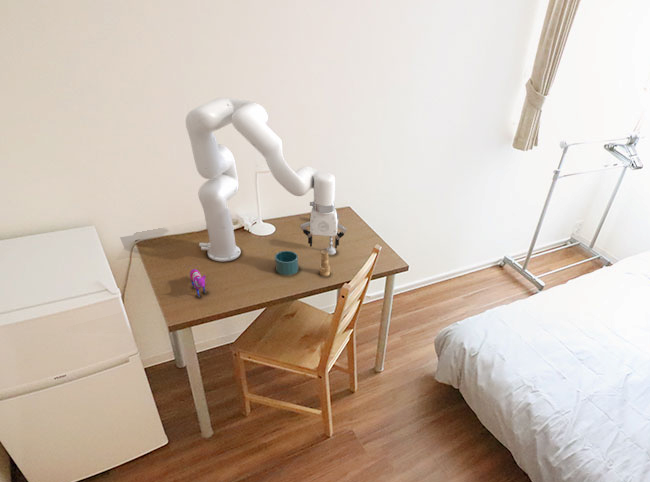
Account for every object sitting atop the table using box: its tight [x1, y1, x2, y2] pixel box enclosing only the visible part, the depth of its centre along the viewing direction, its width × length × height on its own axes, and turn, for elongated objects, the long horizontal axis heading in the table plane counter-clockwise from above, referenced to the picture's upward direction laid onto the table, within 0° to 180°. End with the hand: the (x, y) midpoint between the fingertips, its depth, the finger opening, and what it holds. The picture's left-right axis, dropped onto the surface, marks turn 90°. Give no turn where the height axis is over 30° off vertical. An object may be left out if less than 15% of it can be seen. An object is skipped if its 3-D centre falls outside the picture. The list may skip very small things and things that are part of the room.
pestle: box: [319, 249, 331, 277], centre depth 186 cm, size 4×4×11 cm
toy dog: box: [189, 268, 207, 299], centre depth 167 cm, size 4×18×10 cm, turn 37°
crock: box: [274, 250, 299, 276], centre depth 186 cm, size 9×9×6 cm
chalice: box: [325, 213, 340, 255], centre depth 197 cm, size 7×7×18 cm
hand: (323, 245), depth 181 cm, fingers open, 9 cm apart
